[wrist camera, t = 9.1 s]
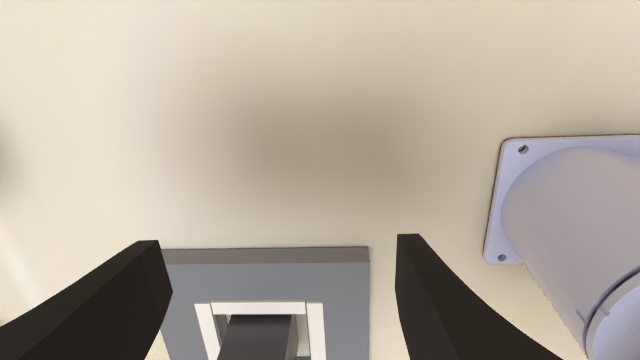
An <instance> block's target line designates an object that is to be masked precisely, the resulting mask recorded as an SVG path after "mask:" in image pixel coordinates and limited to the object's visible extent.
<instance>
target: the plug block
mask: <svg viewBox="0 0 640 360" xmlns="http://www.w3.org/2000/svg"><path fill="white" fill-rule="evenodd" d="M297 350H298V333H297V324H296V315H295V314H232V316H231V319H230V322H229V325H228V328H227V331H226V334H225V337H224V340H223V343H222V346H221V349H220V352H219V355H218V358H217V360H296V358H297Z"/></svg>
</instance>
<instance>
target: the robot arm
mask: <svg viewBox="0 0 640 360" xmlns="http://www.w3.org/2000/svg"><path fill="white" fill-rule="evenodd" d="M522 145H526V147H525V149H524V150H523V151H520V152H519V151H518V149H519V147H521V146H522ZM502 254H504V255H503V256H502V257H498V256H499V255H502ZM483 257H484V259H485V261H486V262H487V263H489V264H525V266H526V267H527V269H528V270H529V272H530V273H531V275H532V276H533V278H534V279H535V281H536V282H537V284H538V285H539V287H540V288H541V290H542V291H543V293H544V294H545V296H546V297H547V298H548V300H549V301H550V303H551V304H552V306H553V307H554V309H555V310H556V312H557V313H558V315H559V316H560V318H561V319H562V321H563V322H564V324H565V325H566V327H567V328H568V330H569V331H570V333H571V334H572V336H573V337H574V339H575V340H576V342H577V343H578V345H579V346H580V348H581V349H582V350H583V352H584V353H585V355H586V356H587V358H588V359H589V360H640V135H612V136H580V137H548V138H516V139H509V140H507V141H505V142H504V143H503V145H502V147H501V153H500V158H499V164H498V170H497V176H496V182H495V188H494V193H493V199H492V205H491V211H490V217H489V223H488V229H487V234H486V240H485V246H484V252H483ZM395 292H396V299H397V306H398V312H399V319H400V323H401V327H402V331H403V334H404V338H405V342H406V345H407V349H408V353H409V356H410V360H563V359H561V358H560V357H558V356H557V355H555V354H554V353H552V352H551V351H549V350H548V349H546V348H545V347H543V346H542V345H540V344H539V343H537V342H536V341H534V340H533V339H531V338H530V337H529V336H527V335H526V334H524V333H523V332H522V331H520V330H519V329H517V328H516V327H515V326H514V325H512V324H511V323H510V322H508V321H507V320H506V319H505V318H503V317H502V316H501V315H499V314H498V313H497V312H496V311H494V310H493V309H492V308H491V307H490V306H488V305H487V304H486V303H485V302H484V301H483V300H482V299H481V298H480V297H478V296H477V295H476V294H475V293H474V292H473V291H472V290H471V289H470V288H469V287H468V286H467V285H466V284H465V283H464V282H463V281H462V280H461V279H460V278H459V277H458V276H457V275H456V274H455V273H454V272H453V271H452V270H451V269H450V268H449V267H448V266H447V265H446V264H445V263H444V262H443V261H442V259H441V258H440V257H439V256H438V255H437V254H436V253H435V252H434V250H433V249H432V248H431V247H430V246H429V245H428V243H427V242H426V241H425V240H424V239H423V238H422V237H421V236H420V235H419V234H397V254H396V275H395ZM172 294H173V289H172V286H171V282H170V279H169V275H168V272H167V269H166V265H165V262H164V258H163V255H162V252H161V248H160V245H159V241H158V240H144V241H137V242H135V243H134V244H132V245H130V246H129V247H127V248H125V249H124V250H122V251H121V252H119V253H118V254H116V255H115V256H113V257H112V258H110V259H109V260H107V261H106V262H104V263H103V264H101V265H100V266H98V267H97V268H96V269H94V270H93V271H91V272H90V273H88V274H87V275H85V276H84V277H82V278H81V279H79V280H78V281H76V282H75V283H73V284H72V285H70V286H68V287H67V288H65V289H64V290H62V291H60V292H59V293H57V294H56V295H54V296H53V297H51V298H49V299H48V300H46V301H45V302H43V303H41V304H40V305H38V306H37V307H35V308H33V309H32V310H30V311H28V312H26V313H25V314H23V315H21V316H19V317H18V318H16V319H14V320H12V321H10V322H9V323H7V324H5V325H3V326H1V327H0V360H144V359H145V357H146V356H147V354H148V352H149V350H150V348H151V346H152V344H153V342H154V340H155V338H156V336H157V334H158V332H159V329H160V327H161V325H162V323H163V321H164V318H165V315H166V312H167V310H168V307H169V304H170V300H171V297H172Z"/></svg>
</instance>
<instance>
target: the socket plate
mask: <svg viewBox="0 0 640 360" xmlns="http://www.w3.org/2000/svg"><path fill="white" fill-rule="evenodd" d="M161 252H162V255H163V258H164V262H165V265H166V269H167V272H168V275H169V279H170V282H171V286H172V289H173V294H172V297H171V300H170V304H169V307H168V310H167V312H166V315H165V318H164V321H163V323H162V325H161V327H160V330H161V333H162V336H163V339H164V342H165V345H166V348H167V351H168V354H169V357H170V360H217V358H218V355H219V352H220V349H221V346H222V343H223V340H224V337H225V334H226V331H227V328H228V326H227V322H226V317H225V314H306V316H307V327H308V338H309V349H310V357H297V358H296V360H369V254H368V247H330V248H258V249H185V250H161Z"/></svg>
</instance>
